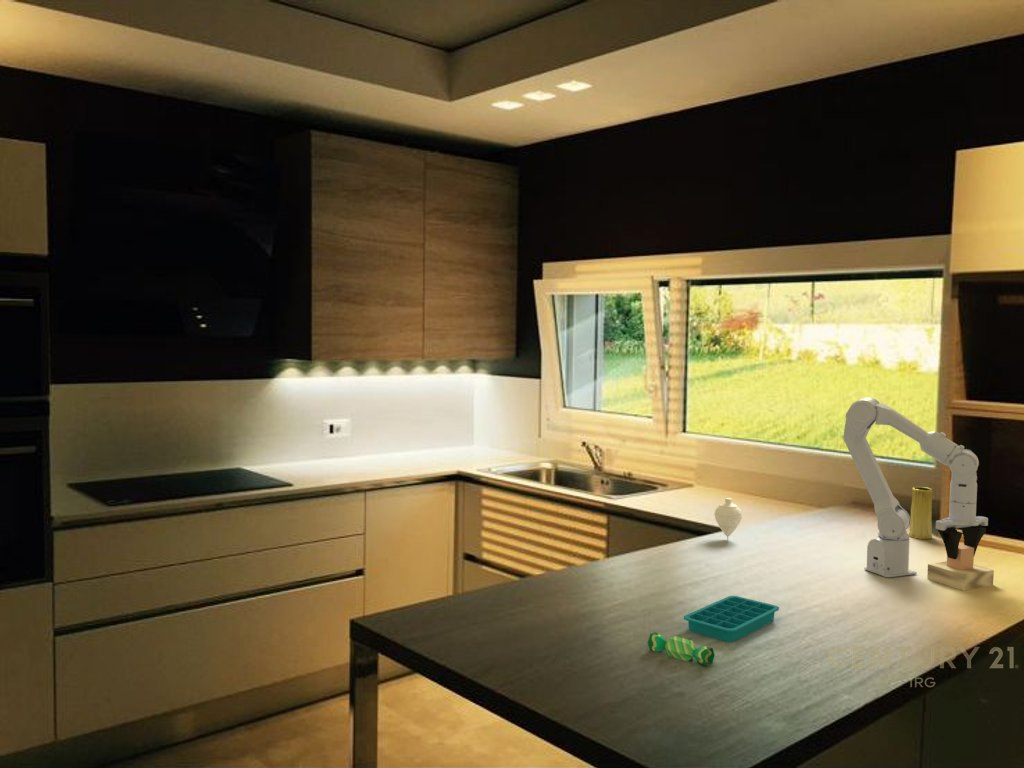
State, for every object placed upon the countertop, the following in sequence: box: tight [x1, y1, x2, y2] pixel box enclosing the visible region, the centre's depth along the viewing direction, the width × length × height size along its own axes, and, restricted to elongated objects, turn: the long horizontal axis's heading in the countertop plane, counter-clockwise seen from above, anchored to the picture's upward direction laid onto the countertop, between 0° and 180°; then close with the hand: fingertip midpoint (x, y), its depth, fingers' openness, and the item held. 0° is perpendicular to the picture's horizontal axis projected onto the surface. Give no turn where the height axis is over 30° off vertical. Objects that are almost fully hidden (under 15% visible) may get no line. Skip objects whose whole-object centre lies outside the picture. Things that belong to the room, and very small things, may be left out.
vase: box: [908, 486, 933, 540], centre depth 249 cm, size 6×6×14 cm
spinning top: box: [714, 497, 743, 540], centre depth 246 cm, size 8×8×12 cm
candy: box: [647, 631, 715, 667], centre depth 159 cm, size 12×3×4 cm
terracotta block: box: [946, 543, 975, 570], centre depth 206 cm, size 4×4×5 cm
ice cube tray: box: [683, 595, 780, 643], centre depth 176 cm, size 12×20×3 cm, turn 136°
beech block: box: [926, 560, 995, 591], centre depth 206 cm, size 10×10×4 cm
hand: (960, 557), depth 206 cm, fingers open, 5 cm apart
